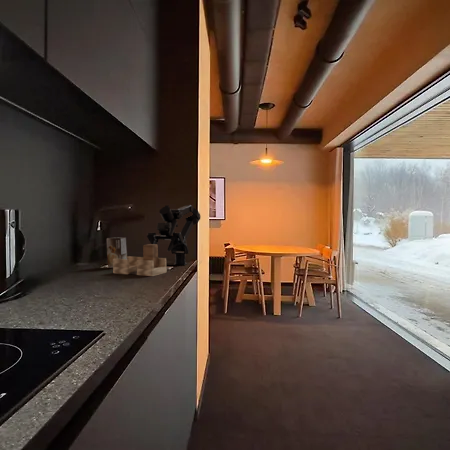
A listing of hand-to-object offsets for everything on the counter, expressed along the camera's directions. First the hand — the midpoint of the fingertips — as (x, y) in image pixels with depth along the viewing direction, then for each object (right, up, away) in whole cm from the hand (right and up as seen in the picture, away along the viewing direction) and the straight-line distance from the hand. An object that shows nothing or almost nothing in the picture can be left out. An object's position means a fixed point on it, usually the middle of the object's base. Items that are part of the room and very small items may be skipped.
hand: (159, 250), depth 199 cm
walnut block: (-3, -8, -8) cm, 12 cm away
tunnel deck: (-9, -11, -5) cm, 15 cm away
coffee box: (-26, -10, +16) cm, 32 cm away
